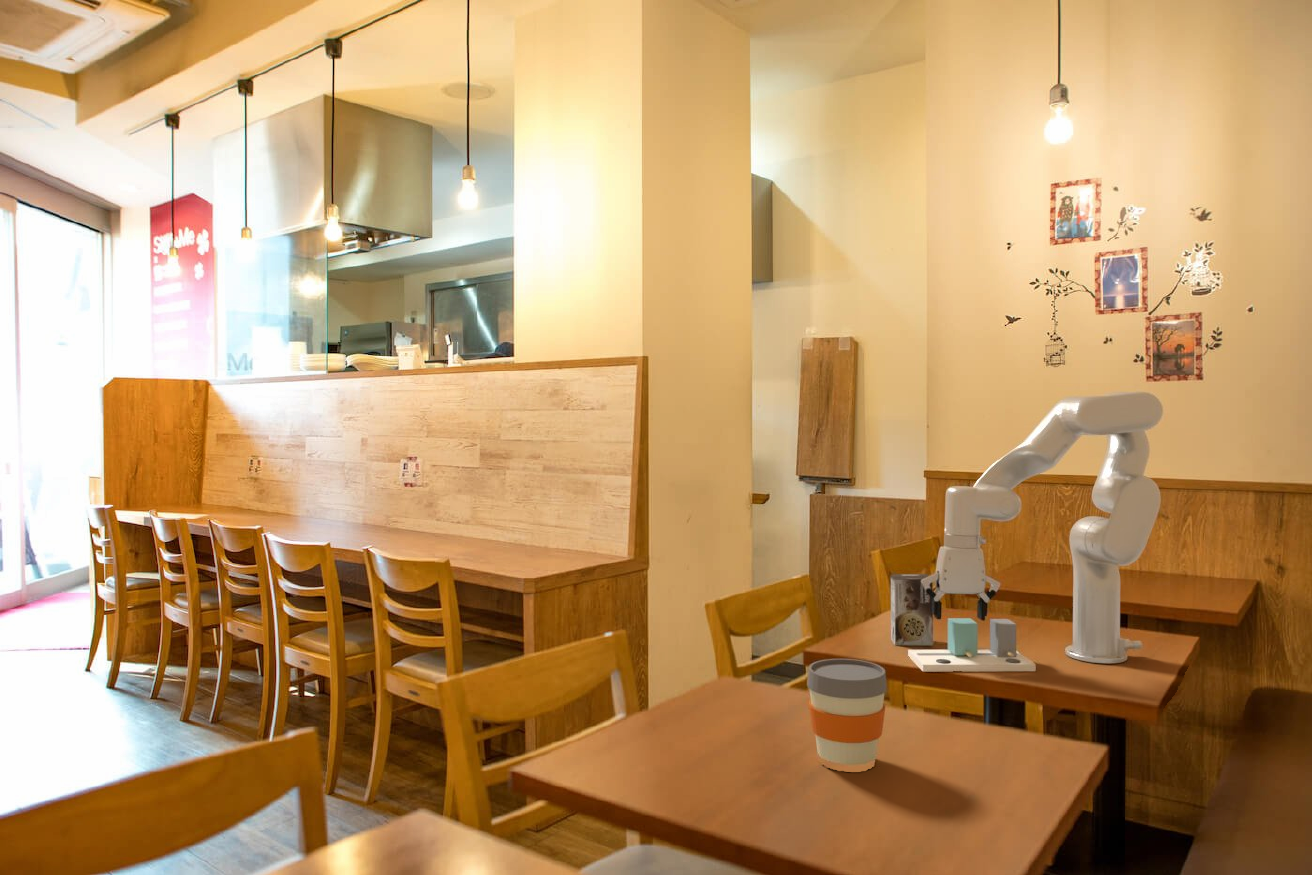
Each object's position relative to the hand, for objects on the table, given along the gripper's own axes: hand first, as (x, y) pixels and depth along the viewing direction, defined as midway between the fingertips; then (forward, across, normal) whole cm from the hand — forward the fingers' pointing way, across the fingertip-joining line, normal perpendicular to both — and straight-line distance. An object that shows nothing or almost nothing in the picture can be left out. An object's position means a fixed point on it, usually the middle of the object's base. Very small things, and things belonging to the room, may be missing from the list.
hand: (959, 618), depth 201 cm
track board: (+10, -2, +2) cm, 10 cm away
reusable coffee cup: (+11, +36, +57) cm, 68 cm away
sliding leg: (+8, -1, +1) cm, 8 cm away
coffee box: (+10, +6, -16) cm, 20 cm away
